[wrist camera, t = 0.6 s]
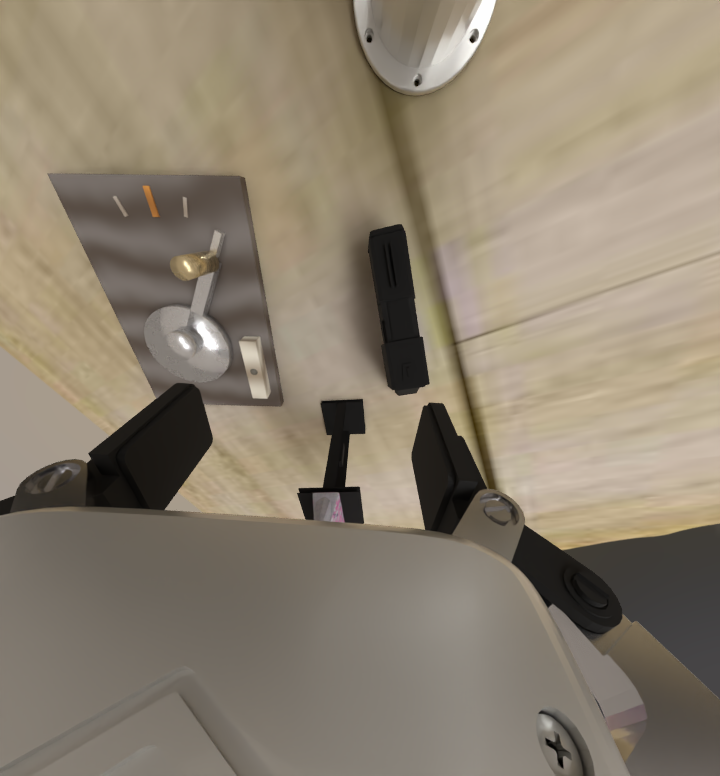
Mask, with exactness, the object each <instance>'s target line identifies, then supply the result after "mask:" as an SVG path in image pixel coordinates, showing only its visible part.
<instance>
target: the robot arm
mask: <svg viewBox="0 0 720 776" xmlns="http://www.w3.org/2000/svg"><path fill="white" fill-rule="evenodd" d="M496 1H497V0H353V6H354V14H355V23H356V28H357V32H358V36H359V40H360V44H361V46H362V49H363V51H364V54H365V56H366V59H367V61H368V62H369V64H370V65H371V67H372V69H373V70H374V72H375V73H376V75H377V76H378V77H379V78H380V79H381V80H382V81H383V82H384V83H385V84H386V85H388V86H389V87H390V88H392V89H393V90H395V91H397V92H400V93H403V94H405V95H415V96H419V95H425V94H430V93H432V92H434V91H436V90H439V89H441V88H443V87H444V86H445V85H447V84H448V83H449V82H451V81H452V80H453V79H454V78H455V77H456V76H457V75H458V74H459V73H460V72H461V71H462V70H463V69H464V68H465V66H466V65H467V63H468V62H469V60H470V59H471V58H472V56H473V55H474V53H475V52H476V50H477V48H478V46H479V45H480V43H481V41H482V39H483V37H484V35H485V32H486V30H487V28H488V25H489V23H490V21H491V18H492V14H493V11H494V8H495V4H496ZM369 37H370V38H371V39H372V42H371V43H368V42H367V39H368V38H369ZM470 38H473V43H471V42H470V40H469V39H470ZM415 81H418V83H419V85H418V86H417V87H416V86H415V85H414V82H415ZM212 441H213V437H212V433H211V429H210V426H209V422H208V418H207V415H206V411H205V408H204V404H203V400H202V397H201V393H200V390H199V389H198V388H196V386H195V385H194V384H189V383H176V384H174V385H173V386H172V387H170V388H169V389H168V390H167V391H165V392H164V393H163V394H162V395H160V396H159V397H158V398H157V399H155V400H154V401H153V402H152V403H151V404H149V405H148V406H147V407H146V408H144V409H143V410H142V411H141V412H139V413H138V414H137V415H136V416H134V417H133V418H132V419H131V420H129V421H128V422H127V423H126V424H124V425H123V426H122V427H121V428H119V429H118V430H117V431H116V432H114V433H113V434H112V435H111V436H109V437H108V438H107V439H106V440H104V441H103V442H102V443H101V444H99V445H98V446H97V447H96V448H94V449H93V450H92V451H91V452H90V453H89V455H90V457H91V460H90V461H89V462H88V463H86V462H84V461H83V460H77V459H72V460H64V461H60V462H56V463H53V464H51V465H48V466H46V467H43V468H41V469H40V470H37V471H36V472H34V473H33V474H31V475H30V476H28V477H27V478H26V479H25V480H24V481H23V482H21V484H20V485H19V487H18V488H17V491H16V494H15V496H13V497H10V498H7V499H4V500H2V501H0V776H720V699H719V698H718V697H717V696H716V695H714V694H713V693H712V692H711V691H710V690H709V689H708V688H707V687H706V686H705V685H704V684H703V683H702V682H701V681H700V680H699V679H698V678H696V677H695V676H694V675H693V674H692V673H691V672H690V671H689V670H688V669H687V668H686V667H685V666H684V665H683V664H682V663H680V661H678V660H677V659H676V658H675V657H674V656H673V655H672V654H671V653H670V652H669V651H668V650H667V649H666V648H665V647H664V646H663V645H662V644H661V643H659V642H658V641H657V640H656V639H655V638H654V637H653V636H652V635H651V634H650V633H649V632H648V631H647V630H646V629H644V627H642V626H641V625H640V624H639V623H638V622H637V621H635V622H634V623H631V622H630V621H629V620H628V619H627V618H626V617H625V616H624V615H623V614H622V608H621V606H620V603H619V601H618V599H617V597H616V596H615V594H614V593H613V591H612V590H611V588H610V587H609V586H608V585H607V584H606V583H605V582H604V581H603V580H602V579H601V578H600V577H599V576H597V575H596V574H595V573H593V572H592V571H591V570H589V569H588V568H587V567H585V566H584V565H582V564H581V563H579V562H578V561H576V560H575V559H574V558H572V557H571V556H569V555H568V554H566V553H565V552H563V551H562V550H560V549H559V548H558V547H556V546H555V545H553V544H552V543H550V542H549V541H547V540H546V539H544V538H543V537H542V536H540V535H539V534H537V533H536V532H534V531H533V530H531V529H530V528H528V527H527V526H526V525H524V524H525V517H524V514H523V511H522V510H521V508H520V507H519V505H518V504H517V503H516V502H515V501H514V500H513V499H512V498H510V497H509V496H507V495H506V494H504V493H502V492H500V491H497V490H493V489H487V487H486V485H485V483H484V481H483V479H482V477H481V474H480V472H479V470H478V468H477V466H476V464H475V462H474V459H473V457H472V455H471V453H470V451H469V449H468V446H467V444H466V442H465V440H464V438H463V437H462V436H458V435H457V433H456V431H455V429H454V426H453V424H452V422H451V420H450V417H449V415H448V413H447V410H446V408H445V406H444V404H442V403H429V404H428V406H424V407H423V410H422V414H421V418H420V422H419V426H418V430H417V434H416V438H415V442H414V446H413V450H412V464H413V469H414V474H415V479H416V484H417V489H418V495H419V500H420V505H421V510H422V515H423V520H424V525H425V530H421V529H414V528H404V527H393V526H382V525H371V524H357V523H344V522H330V521H317V520H303V519H289V518H275V517H260V516H246V515H231V514H216V513H200V512H183V511H167V510H165V508H166V507H167V505H168V504H169V503H170V501H171V500H172V499H173V497H174V496H175V494H176V493H177V492H178V490H179V489H180V488H181V486H182V485H183V483H184V482H185V481H186V479H187V478H188V476H189V475H190V474H191V472H192V471H193V470H194V468H195V467H196V465H197V464H198V463H199V461H200V460H201V458H202V457H203V456H204V454H205V453H206V452H207V450H208V449H209V447H210V446H211V444H212ZM590 690H591V691H590ZM591 692H592V693H593V695H594V696H595V698H596V699H597V701H598V702H599V704H600V706H601V709H602V711H603V714H604V716H605V719H606V722H605V720H604V718H603V715H602V713H601V711H600V709H599V707H598V705H597V703H596V701H595V699H594V697H593V695H592V693H591ZM538 713H539V714H538Z"/></svg>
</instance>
